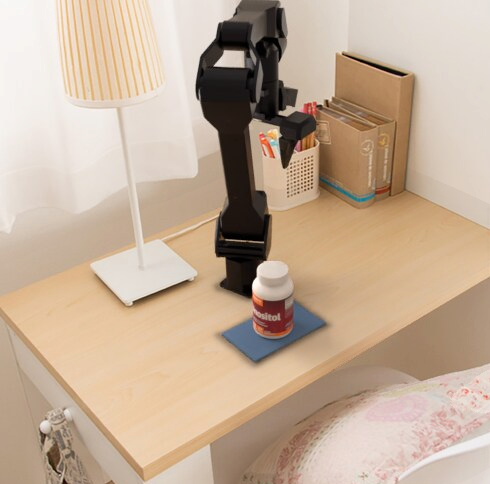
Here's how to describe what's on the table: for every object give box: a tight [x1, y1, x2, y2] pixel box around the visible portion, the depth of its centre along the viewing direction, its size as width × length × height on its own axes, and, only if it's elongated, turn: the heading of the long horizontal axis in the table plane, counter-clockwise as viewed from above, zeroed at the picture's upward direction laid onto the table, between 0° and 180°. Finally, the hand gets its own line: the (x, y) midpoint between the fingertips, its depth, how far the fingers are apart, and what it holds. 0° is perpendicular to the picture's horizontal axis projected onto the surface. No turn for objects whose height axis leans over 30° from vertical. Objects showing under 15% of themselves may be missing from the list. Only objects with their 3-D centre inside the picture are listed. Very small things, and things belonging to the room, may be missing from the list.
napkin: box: [221, 299, 327, 364], centre depth 116 cm, size 14×8×1 cm, turn 129°
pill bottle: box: [252, 260, 295, 339], centre depth 112 cm, size 6×6×11 cm
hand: (263, 162), depth 135 cm, fingers open, 9 cm apart
